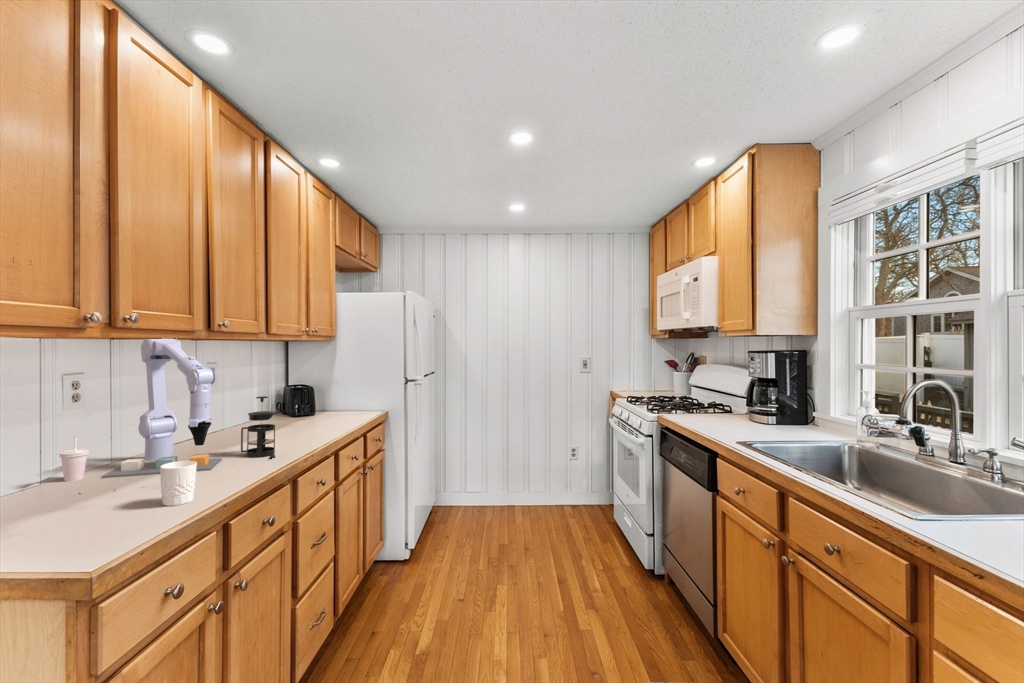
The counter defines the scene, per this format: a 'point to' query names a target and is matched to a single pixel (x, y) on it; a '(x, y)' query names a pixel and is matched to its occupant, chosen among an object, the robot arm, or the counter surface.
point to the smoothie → (74, 463)
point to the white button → (132, 464)
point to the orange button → (200, 459)
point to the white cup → (178, 482)
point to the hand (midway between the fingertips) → (199, 444)
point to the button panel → (151, 469)
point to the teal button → (165, 461)
